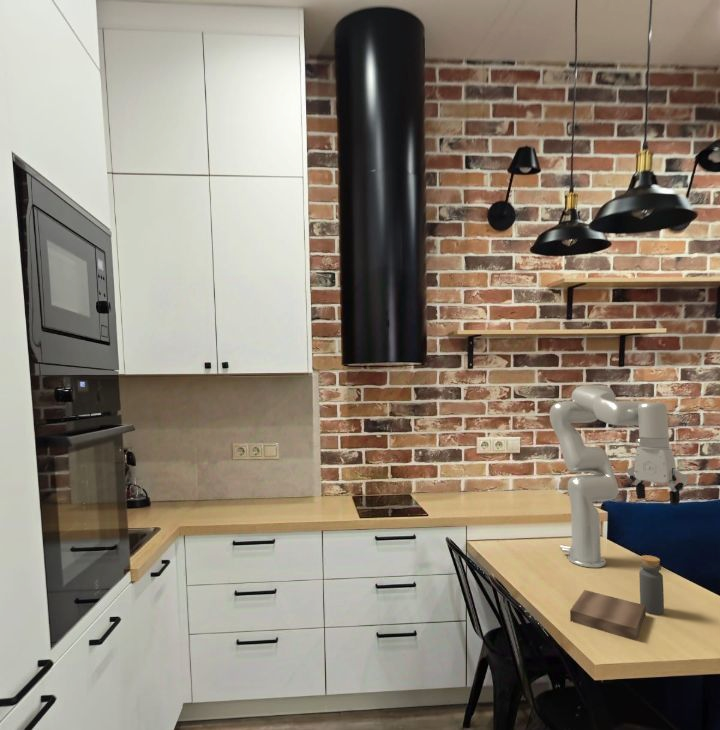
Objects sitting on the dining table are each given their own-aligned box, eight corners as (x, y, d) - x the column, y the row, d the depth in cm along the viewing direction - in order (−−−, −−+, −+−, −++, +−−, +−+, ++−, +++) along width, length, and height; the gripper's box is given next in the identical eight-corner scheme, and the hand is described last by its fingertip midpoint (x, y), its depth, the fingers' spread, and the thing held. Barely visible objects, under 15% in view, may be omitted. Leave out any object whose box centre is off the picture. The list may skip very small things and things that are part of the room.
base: (570, 621, 129) (570, 610, 129) (584, 599, 142) (584, 589, 142) (636, 640, 119) (636, 628, 119) (645, 616, 132) (645, 605, 132)
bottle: (636, 605, 138) (634, 554, 139) (656, 605, 138) (654, 554, 138) (647, 615, 132) (646, 561, 133) (668, 615, 132) (666, 561, 132)
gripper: (618, 441, 145) (621, 497, 144) (677, 446, 129) (681, 509, 128) (633, 440, 148) (636, 494, 147) (692, 445, 133) (696, 506, 132)
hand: (657, 501), depth 138 cm, fingers open, 9 cm apart
